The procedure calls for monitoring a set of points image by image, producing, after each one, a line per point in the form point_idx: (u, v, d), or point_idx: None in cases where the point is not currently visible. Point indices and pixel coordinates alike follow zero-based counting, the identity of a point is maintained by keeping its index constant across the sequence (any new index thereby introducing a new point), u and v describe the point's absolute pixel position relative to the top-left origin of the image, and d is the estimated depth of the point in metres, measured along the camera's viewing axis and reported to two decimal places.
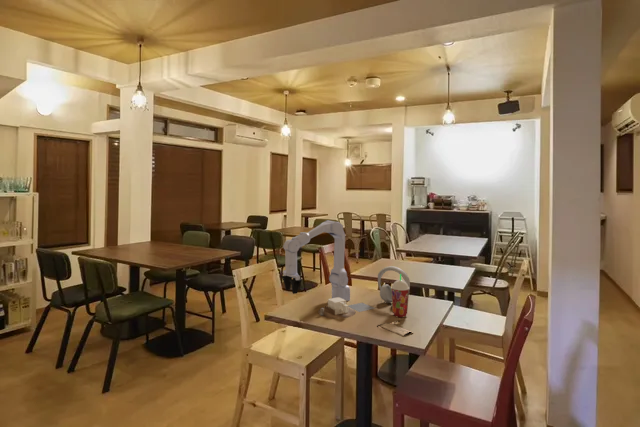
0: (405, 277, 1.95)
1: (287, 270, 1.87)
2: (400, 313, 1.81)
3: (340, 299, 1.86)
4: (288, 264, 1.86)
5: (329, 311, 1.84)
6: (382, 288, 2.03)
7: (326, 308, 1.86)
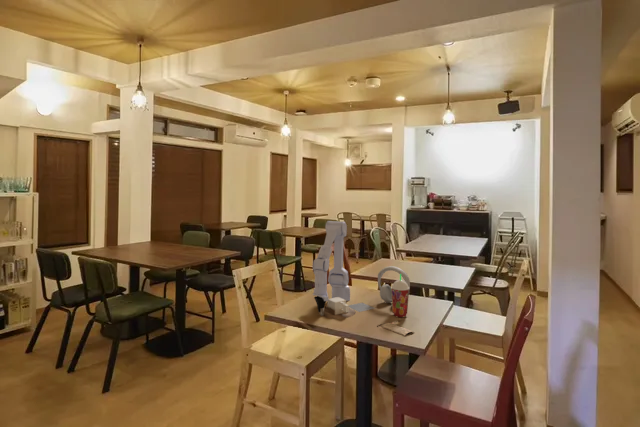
0: (405, 277, 1.95)
1: (316, 290, 1.81)
2: (400, 313, 1.81)
3: (340, 299, 1.87)
4: (322, 284, 1.79)
5: (329, 311, 1.84)
6: (382, 288, 2.03)
7: (326, 308, 1.86)
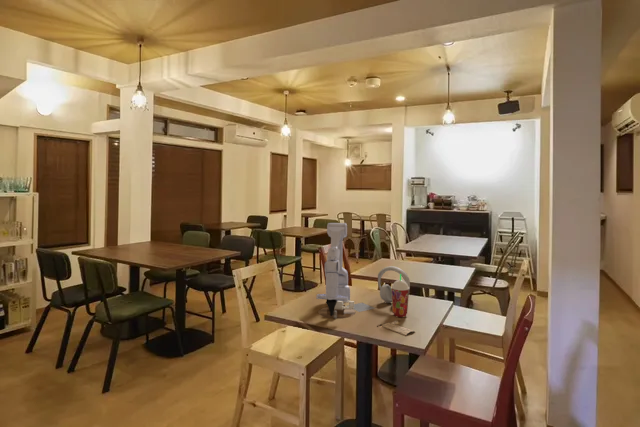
0: (405, 277, 1.95)
1: (332, 293, 1.75)
2: (400, 313, 1.81)
3: None
4: (334, 286, 1.75)
5: None
6: (382, 288, 2.03)
7: None
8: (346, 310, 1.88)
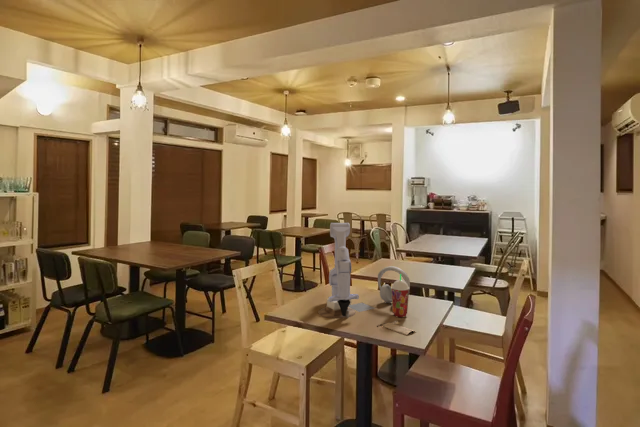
0: (405, 277, 1.95)
1: (348, 293, 1.75)
2: (400, 313, 1.81)
3: None
4: (347, 286, 1.75)
5: None
6: (382, 288, 2.03)
7: (336, 312, 1.81)
8: None
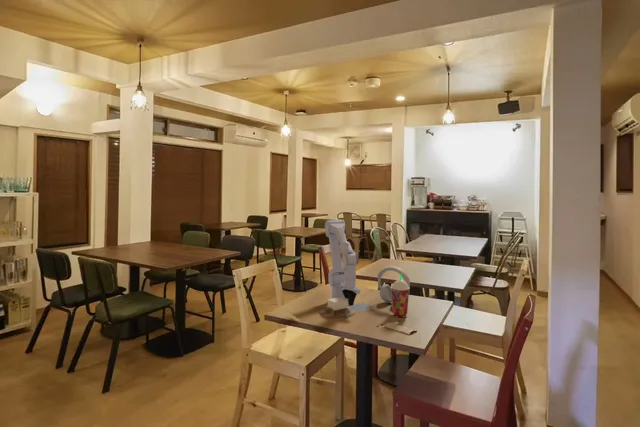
0: (405, 277, 1.95)
1: (346, 284, 1.87)
2: (400, 313, 1.81)
3: (335, 298, 1.87)
4: (354, 277, 1.87)
5: (341, 312, 1.83)
6: (382, 288, 2.03)
7: (336, 312, 1.81)
8: None
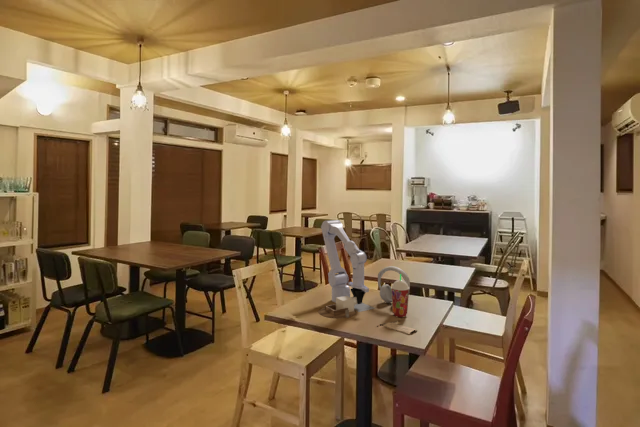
0: (405, 277, 1.95)
1: (355, 282, 1.90)
2: (400, 313, 1.81)
3: (343, 297, 1.90)
4: None
5: (341, 312, 1.83)
6: (382, 288, 2.03)
7: (336, 312, 1.81)
8: None
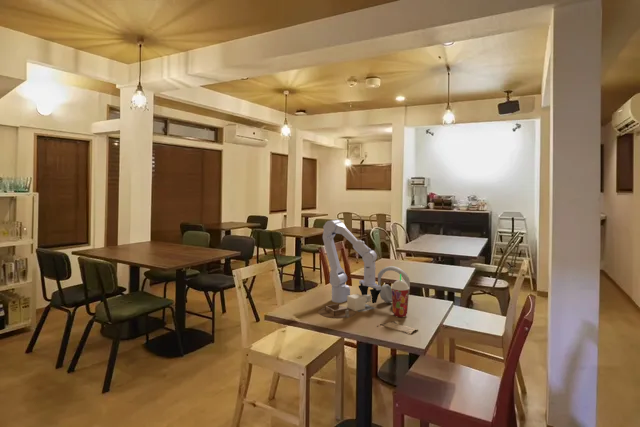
0: (405, 277, 1.95)
1: (366, 280, 1.93)
2: (400, 313, 1.81)
3: (354, 295, 1.93)
4: None
5: (341, 312, 1.83)
6: (382, 288, 2.03)
7: (336, 312, 1.81)
8: (341, 308, 1.91)
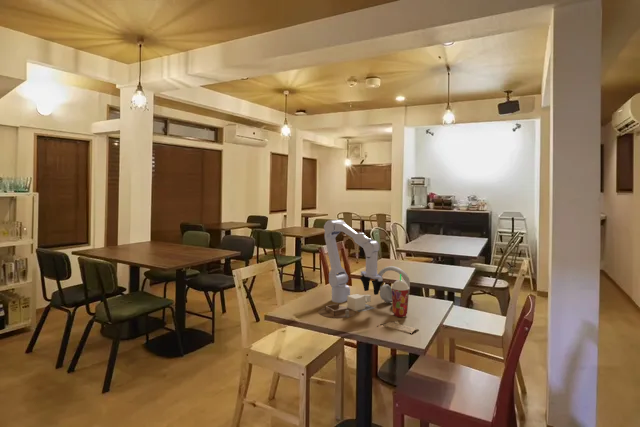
0: (405, 277, 1.95)
1: (368, 271, 1.87)
2: (400, 313, 1.81)
3: (354, 295, 1.93)
4: None
5: (341, 312, 1.83)
6: (382, 288, 2.03)
7: (336, 312, 1.81)
8: (341, 308, 1.91)
